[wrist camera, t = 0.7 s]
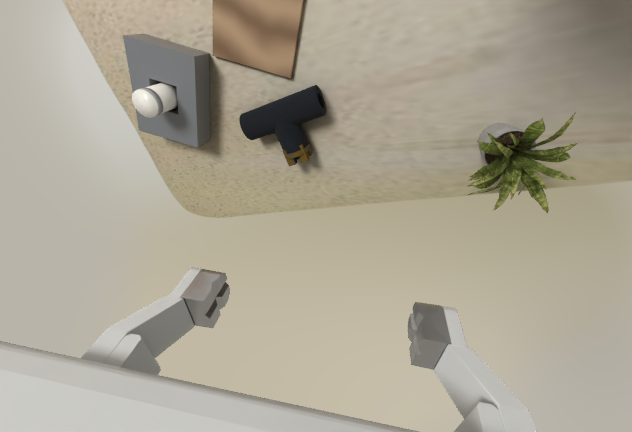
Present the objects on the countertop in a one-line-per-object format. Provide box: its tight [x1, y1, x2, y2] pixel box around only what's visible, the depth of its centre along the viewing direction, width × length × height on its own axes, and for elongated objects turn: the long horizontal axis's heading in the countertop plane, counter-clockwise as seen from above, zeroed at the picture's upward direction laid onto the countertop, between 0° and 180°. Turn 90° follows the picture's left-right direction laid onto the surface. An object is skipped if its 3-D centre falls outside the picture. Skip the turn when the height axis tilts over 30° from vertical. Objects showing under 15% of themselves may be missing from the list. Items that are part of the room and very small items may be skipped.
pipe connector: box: [240, 85, 326, 166], centre depth 51 cm, size 12×5×15 cm
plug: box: [132, 82, 178, 118], centre depth 49 cm, size 4×4×10 cm
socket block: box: [123, 34, 210, 148], centre depth 51 cm, size 16×12×5 cm
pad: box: [213, 0, 304, 78], centre depth 43 cm, size 14×14×1 cm
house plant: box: [468, 114, 577, 213], centre depth 40 cm, size 14×14×16 cm
